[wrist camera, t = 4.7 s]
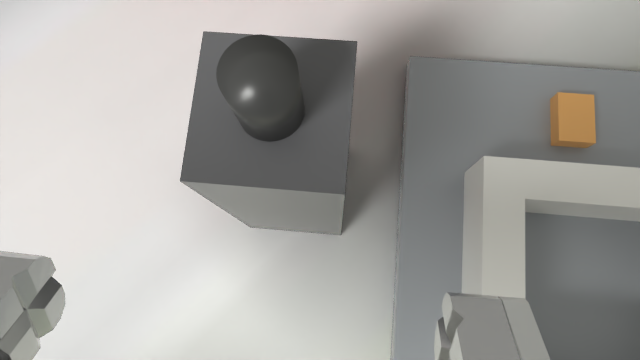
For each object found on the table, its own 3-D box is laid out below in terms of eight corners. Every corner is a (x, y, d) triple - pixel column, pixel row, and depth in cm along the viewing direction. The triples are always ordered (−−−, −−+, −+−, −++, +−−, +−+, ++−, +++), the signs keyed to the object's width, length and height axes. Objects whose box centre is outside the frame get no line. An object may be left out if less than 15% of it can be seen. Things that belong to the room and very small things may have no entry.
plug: (340, 235, 19) (347, 174, 9) (250, 227, 20) (144, 158, 9) (348, 147, 20) (361, -10, 9) (260, 140, 20) (176, -20, 10)
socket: (755, 567, 16) (866, 642, 13) (381, 523, 17) (393, 583, 14) (709, 87, 20) (785, 47, 17) (406, 66, 21) (420, 24, 17)
